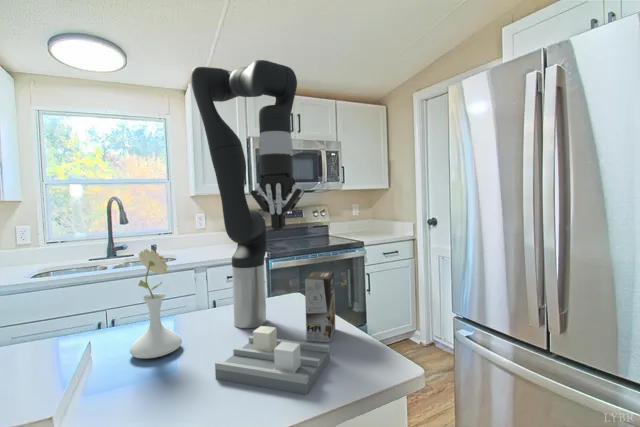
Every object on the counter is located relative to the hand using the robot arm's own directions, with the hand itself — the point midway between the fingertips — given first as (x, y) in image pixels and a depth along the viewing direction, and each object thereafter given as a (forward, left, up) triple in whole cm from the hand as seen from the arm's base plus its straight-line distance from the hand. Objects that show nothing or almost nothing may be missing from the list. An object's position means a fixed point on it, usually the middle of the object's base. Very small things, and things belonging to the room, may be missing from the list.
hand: (278, 230), depth 76 cm
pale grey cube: (+10, -5, -27) cm, 29 cm away
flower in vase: (-23, -22, -29) cm, 43 cm away
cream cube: (-1, -4, -27) cm, 27 cm away
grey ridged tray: (+4, -5, -29) cm, 30 cm away
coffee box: (-3, +14, -29) cm, 33 cm away
